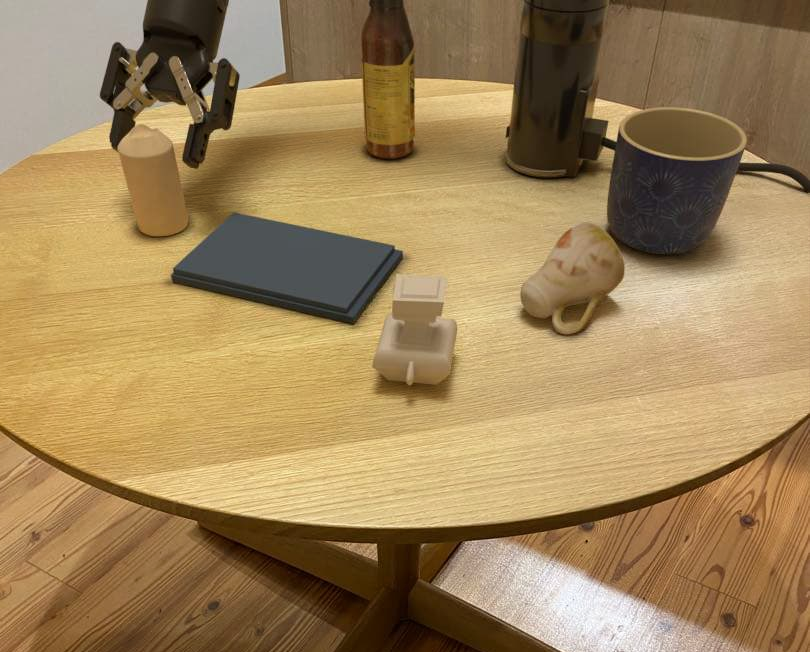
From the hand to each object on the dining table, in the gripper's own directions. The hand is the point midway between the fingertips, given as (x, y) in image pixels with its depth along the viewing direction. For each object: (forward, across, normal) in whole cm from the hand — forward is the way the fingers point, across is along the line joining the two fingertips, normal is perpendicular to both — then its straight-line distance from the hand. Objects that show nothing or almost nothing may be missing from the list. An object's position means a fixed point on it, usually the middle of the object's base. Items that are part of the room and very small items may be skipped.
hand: (154, 158), depth 82 cm
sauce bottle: (-13, +16, +24) cm, 31 cm away
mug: (+5, +45, +5) cm, 45 cm away
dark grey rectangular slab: (+8, +17, +2) cm, 19 cm away
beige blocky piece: (+16, +35, -5) cm, 38 cm away
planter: (-7, +51, +17) cm, 54 cm away
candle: (+6, 0, +5) cm, 7 cm away
